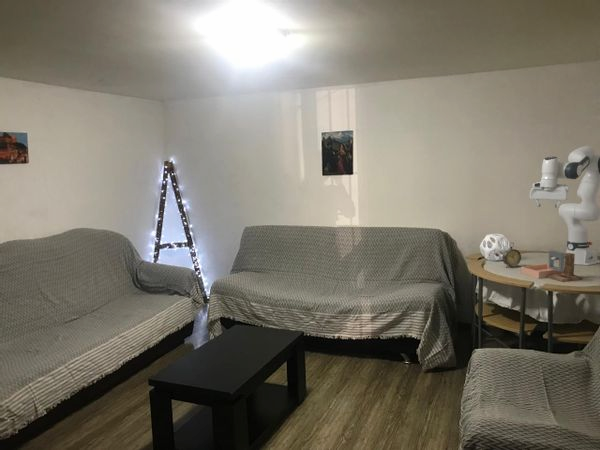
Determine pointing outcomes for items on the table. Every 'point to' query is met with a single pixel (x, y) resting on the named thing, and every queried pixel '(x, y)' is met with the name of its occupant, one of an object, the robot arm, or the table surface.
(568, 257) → the stand
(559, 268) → the grey rectangular frame
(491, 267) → the table surface
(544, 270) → the dish
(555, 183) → the robot arm
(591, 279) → the table surface
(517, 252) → the alarm clock
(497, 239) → the decorative ball
